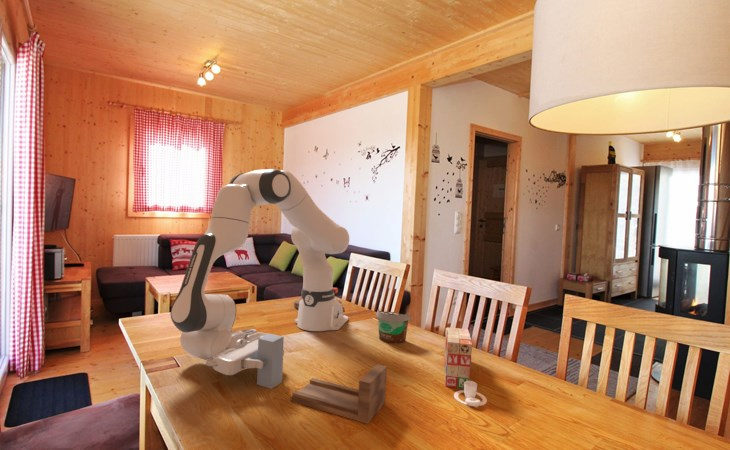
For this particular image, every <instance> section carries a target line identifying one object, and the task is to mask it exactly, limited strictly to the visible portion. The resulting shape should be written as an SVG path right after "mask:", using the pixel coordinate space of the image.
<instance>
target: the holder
mask: <svg viewBox="0 0 730 450" xmlns="http://www.w3.org/2000/svg"><path fill="white" fill-rule="evenodd" d="M387 368H388V366H387V365H382V364H378V363H377V364H375V365H374V367H373V368H371V369H370V370H369V371H368V372H367V373H366V374H365V375H364V376H362V378H360V380H358V389H356V388H352V387H348V386H344V385H340V384H337V383H333V382H329V381H325V380H321V379H317V378H313V377H312V378H311V379H309V383H308V384H306V385H305V386H304V387H302V388H301V389H300V390H294V391H293V392H292V393H291V394H292V396H290V402H293V403H295V404H298V405H299V404H300V405H302V406H306V407H308V408H309V407H310V408H313V409H316V410H321V411H324V412H327V413H331V414H332V415H337V416H340V417H342V418H343V417H344V418H346V419H350V420H354V421H356V422H360V423H364V424H367V425H368V424H369V423H370V422H371V420H372V419H374V417H375V416H376V415H377V414H378V413H379V412H380V410H381V408H382V407H383V406H384V405H385V403H386V390H387V388H386V386H387V370H388V369H387Z"/></svg>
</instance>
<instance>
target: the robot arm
mask: <svg viewBox="0 0 730 450" xmlns="http://www.w3.org/2000/svg"><path fill="white" fill-rule="evenodd" d="M214 200H215V201H214V203H213V205H212V206H213V207H212V209H211V210H212V211H211V216H210V221H209V224H208V227H207V229H206V231H205V232H204V234H202V235H201V236H200V237H199V238H198V239H197V241H196V243H195V245H194V247H193V249H192V253H191V256H190V259H189V261H188V265H187V267H186V270H185V273H184V277H183V280H182V282H181V286H180V289H179V290H178V293H177V295H176V297H175V299H174V301H173V302H172V305H171V308H170V319H171V321H172V323H173V325H174V326H175V327H176V328H177V329H178V331H180V332H181V335H180V340H179V341H180V346H181V348H182V349H183V350H184V352H186V353H187V354H189V356H192V357H194V358H198V359H200V360H204V361H205V365H206V366H208V367H212V368H213V370H214V371H215V372H218V373H220V374H223V375H224V376H225V375H226V376H234V375H236V374H238V373H240V372H241V371H243V370H246V369H255V368H256V369H258V368H259V369H261V368H263V367H265V360H262V359H258V339H259V338H261V337H263V336H265V335H267V334H268V333H267V332H262V331H260V332H259V331H258V330H257V329H255V328H254V329H253V328H250V329H246V330H233V327H234V324H235V321H236V320H235V319H236V316H237V305H236V302H235V300H234V299H233V298H232V297H231V296H230V295H228V294H221V293H219V294H218V293H205V289H206V286H207V283H208V279H209V276H210V273H211V270H212V266H213V265H214V263H215V262H216V260H217V259H218V258H221V256H223V255H225V254H229V253H233V252H235V251H237V250H239V249H240V248H241V247H243V245H244V244H245V243H246V242H247V239H248V236H249V233H250V227H251V226H250V225H251V220H252V211H253V209H254V207H255V206H256V207H257V206H259V207H260V206H266V205H270V204H272V205H275V204H276V205H277V208H278V209H279V210H280V211H281V213H282V214H283V215H284V217H285V218H286V219H287V220H288V222H289V224H290V225H291V226H293V228H292V230H291V236H290V237H291V242H292V244H293V245H294V246H295V248H296V249H297V251H298V253H299V256H300V260H301V264H302V273H303V274H302V276H303V280H302V281H303V283H302V288H301V299H302V300H301V301H300V302H299V309H298V311H297V318H295V320H294V323H296V324H297V325H296V326H297V327H298V329H301V330H304V331H310V332H325V331H338V330H340V329H342V327H343V326H344V325H345V323H347V322H348V320H349V316H347V315H345V314H343V313H344V311H343V304H342V305H341V304H340V303H339V302H338V301H337V300H338V299H337V298H336V296H335V294H337V293H338V292H339V289H338V287H333V283H334V269H333V266H332V265H331V264H330V263H329V261H328V258H327V257H326V255H337V254H342V253H344V252H345V251H346V250H347V248H349V247H348V246H349V245H350V235H349V231H348V230H347V229H346V228H345V227H343V226H342V225H339V224H338V223H336V222H335V221H334V220H333V219H331V218H330V217H329V216H328V215H327V214H326V213H324V212H323V210H321V209H320V208H319V206H318V205H317V204H316V203H315V202H314V200H313V199H312V197H311V196H310V194H309V193H308V191H307V190H306V188H305V187H304V185H303V184H302V183H301V182H300V181H299V179H298V178H297V177H296V176H295V175H294V174H293V173H292V172H290V171H289V170H286V169H282V170H279V169H275V168H269V169H256V170H254V169H253V170H252V171H249V172H241V173H239V174H237V175H235V176H234V177H232V178H231V179H230V182H229V183H228V184H225V185H223V186H222V187H220V189H219V190H218V192H217V195H216V198H215V199H214ZM336 299H337V300H336ZM232 330H233V331H232ZM284 356H285V350H284V349H283V357H284Z"/></svg>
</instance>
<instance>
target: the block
mask: <svg viewBox="0 0 730 450" xmlns="http://www.w3.org/2000/svg"><path fill="white" fill-rule="evenodd" d="M284 342H285V341H284V335H283V336H282V335H278V334H274V333H267V335H265V336H263V337H261V338H259V339H258V359H262V360H265V367H263V368H261V369H259V368H257V373H256V375H257V377H256V378H257V379H256V380H257V382H256V385H257V386H261V387H265V388H269V389H271V390H272V389H274V388H275V387H277V386H278V385H279V384H281V383H282V382H283V375H284V372H283V370H284V369H283V367H284V356H283V350H284Z"/></svg>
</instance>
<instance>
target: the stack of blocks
mask: <svg viewBox="0 0 730 450" xmlns="http://www.w3.org/2000/svg"><path fill="white" fill-rule="evenodd" d="M444 336H445V337H444V338H445V339H444V340H445V342H444V370H445V371H444V373H445V375H444V384H445V385H444V386H445V387H447V388H454V389H455V388H457V389H461V390H464V382H465V381H471V378H470V377H471V375H470V374H471V367H472V354H473V353H472V350H473V342H472V338H471V334H470V332H469V329H468V328H458V327H448V326H447V327H445V335H444Z"/></svg>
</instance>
